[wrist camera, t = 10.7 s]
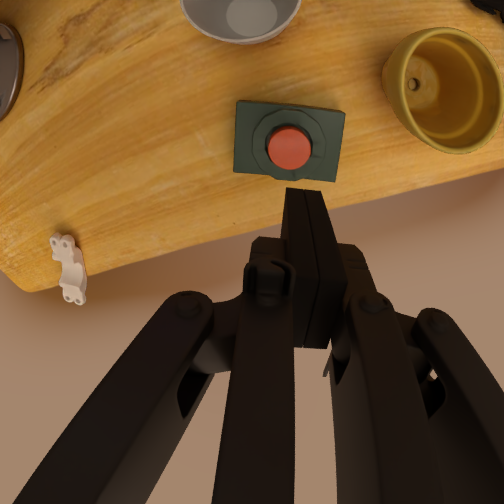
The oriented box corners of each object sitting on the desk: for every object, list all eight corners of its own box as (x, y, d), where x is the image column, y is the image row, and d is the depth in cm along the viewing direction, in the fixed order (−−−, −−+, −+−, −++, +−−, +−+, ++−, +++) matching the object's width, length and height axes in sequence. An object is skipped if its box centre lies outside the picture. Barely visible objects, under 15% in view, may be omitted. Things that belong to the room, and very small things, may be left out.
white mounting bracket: (78, 230, 37) (57, 226, 37) (69, 239, 35) (47, 235, 35) (91, 297, 44) (71, 291, 44) (84, 307, 42) (64, 301, 42)
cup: (289, -23, 20) (294, -62, 12) (299, 49, 25) (309, 37, 16) (205, -13, 21) (174, -45, 13) (214, 58, 26) (186, 51, 17)
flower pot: (441, 141, 28) (490, 170, 19) (355, 117, 28) (387, 136, 19) (458, 55, 22) (513, 59, 14) (370, 22, 22) (408, 5, 14)
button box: (235, 166, 32) (230, 178, 28) (239, 99, 28) (233, 103, 24) (331, 175, 31) (338, 189, 28) (341, 110, 28) (350, 115, 24)
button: (267, 162, 28) (266, 167, 26) (270, 123, 26) (269, 127, 24) (306, 166, 27) (308, 172, 26) (311, 128, 26) (313, 131, 24)
